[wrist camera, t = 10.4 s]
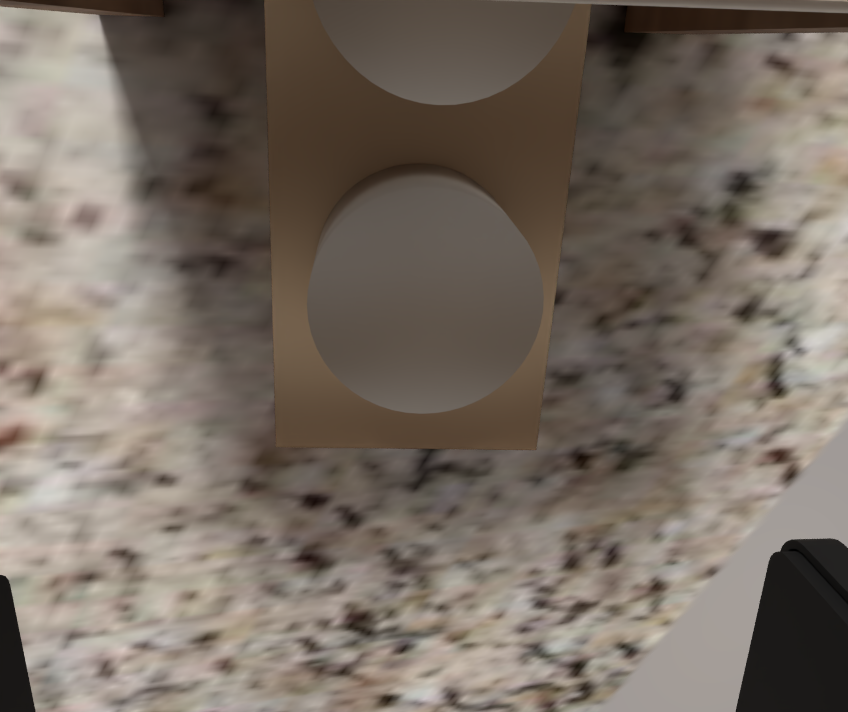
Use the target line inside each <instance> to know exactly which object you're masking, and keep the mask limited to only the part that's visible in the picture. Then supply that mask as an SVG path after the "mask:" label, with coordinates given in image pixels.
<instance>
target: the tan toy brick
mask: <svg viewBox="0 0 848 712" xmlns="http://www.w3.org/2000/svg"><path fill="white" fill-rule="evenodd" d="M591 5H592V4H577V3H549V2H521V1H494V0H264V12H265V50H266V88H267V126H268V165H269V203H270V241H271V280H272V318H273V356H274V394H275V433H276V447H307V448H396V449H485V450H536V447H537V439H538V431H539V423H540V415H541V407H542V399H543V391H544V383H545V375H546V367H547V359H548V351H549V342H550V334H551V326H552V318H553V310H554V302H555V294H556V286H557V278H558V270H559V262H560V254H561V246H562V238H563V230H564V222H565V214H566V206H567V198H568V190H569V182H570V174H571V166H572V158H573V149H574V141H575V133H576V125H577V117H578V109H579V101H580V93H581V85H582V77H583V69H584V61H585V53H586V45H587V37H588V29H589V21H590V13H591Z"/></svg>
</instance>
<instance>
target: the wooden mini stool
mask: <svg viewBox="0 0 848 712" xmlns="http://www.w3.org/2000/svg"><path fill="white" fill-rule="evenodd" d="M494 1H521V2H549V3H577V4H605V5H627V12H626V21H625V29H624V32H634V33H664V34H742V33H830V32H848V0H494ZM0 6H3V7H14V8H26V9H38V10H49V11H61V12H73V13H84V14H96V15H122V16H152V17H164V8H163V0H0Z"/></svg>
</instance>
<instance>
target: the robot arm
mask: <svg viewBox="0 0 848 712" xmlns="http://www.w3.org/2000/svg"><path fill="white" fill-rule="evenodd" d="M0 712H35V707H34V702H33V697H32V692H31V687H30V682H29V677H28V672H27V667H26V662H25V657H24V652H23V647H22V642H21V637H20V632H19V627H18V622H17V617H16V612H15V607H14V602H13V597H12V592H11V587H10V584H9V580H8V579H7V578H6V576H3V575H0ZM736 712H848V548H847V547H846V546H845V545H844V544H842V543H841V542H840V541H838V540H835V539H797V540H790V541H787V542H786V543H785V544H784V545H783V546H782V548H781V551H780V552H775V553H774V554H773V555H772V556H771V558H770V560H769V564H768V568H767V573H766V578H765V581H764V586H763V591H762V595H761V599H760V604H759V609H758V613H757V618H756V622H755V627H754V631H753V636H752V640H751V645H750V650H749V654H748V658H747V663H746V667H745V672H744V676H743V681H742V685H741V690H740V694H739V699H738V703H737V708H736Z"/></svg>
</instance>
